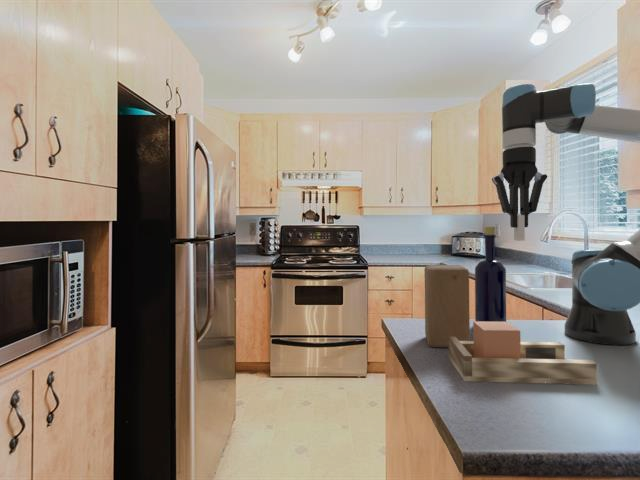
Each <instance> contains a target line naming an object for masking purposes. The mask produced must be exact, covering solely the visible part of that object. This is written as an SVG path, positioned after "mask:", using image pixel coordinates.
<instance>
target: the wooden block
mask: <svg viewBox="0 0 640 480" xmlns="http://www.w3.org/2000/svg"><path fill="white" fill-rule="evenodd" d="M470 324H471V323H470V271H469V269H468V268H466V267H464V266H463V265H460V264H427V265H425V266H424V331H425V332H424V334H425V338H426V342H427V344H428V346H429V347H431V348H448V349H449V336H454V337H456V338H457V339H458V340H459V341H471V340H470V337H471V335H470V333H471V332H470V331H471V330H470V327H471V326H470Z"/></svg>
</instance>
